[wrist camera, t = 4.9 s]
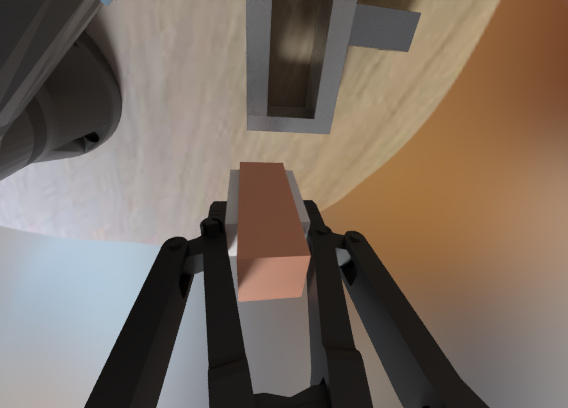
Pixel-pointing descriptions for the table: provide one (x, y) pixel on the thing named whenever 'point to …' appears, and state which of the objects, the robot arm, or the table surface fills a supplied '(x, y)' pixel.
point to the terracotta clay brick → (269, 235)
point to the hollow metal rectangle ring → (318, 59)
